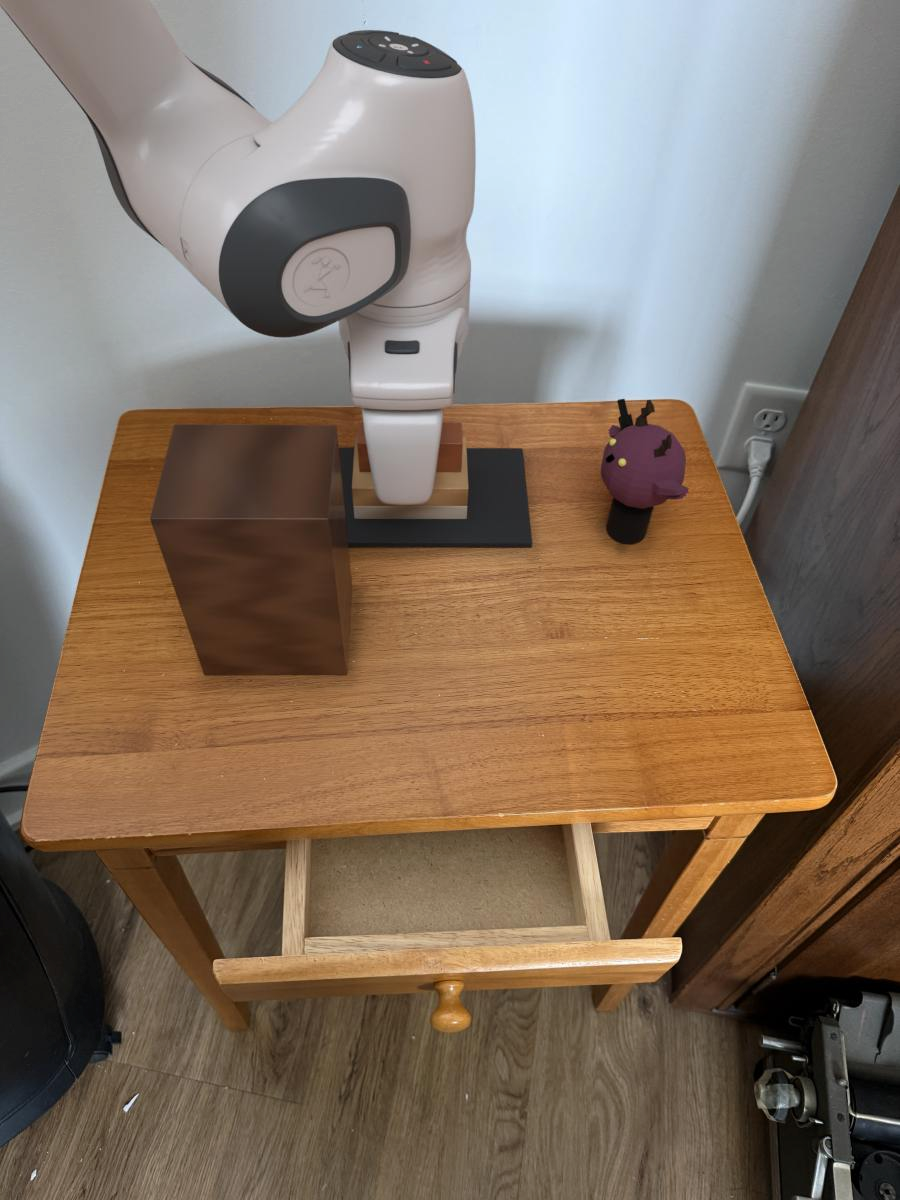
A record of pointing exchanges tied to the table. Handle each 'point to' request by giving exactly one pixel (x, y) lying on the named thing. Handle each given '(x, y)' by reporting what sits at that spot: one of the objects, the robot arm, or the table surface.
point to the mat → (489, 521)
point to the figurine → (640, 473)
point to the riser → (258, 546)
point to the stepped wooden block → (448, 482)
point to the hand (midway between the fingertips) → (406, 460)
